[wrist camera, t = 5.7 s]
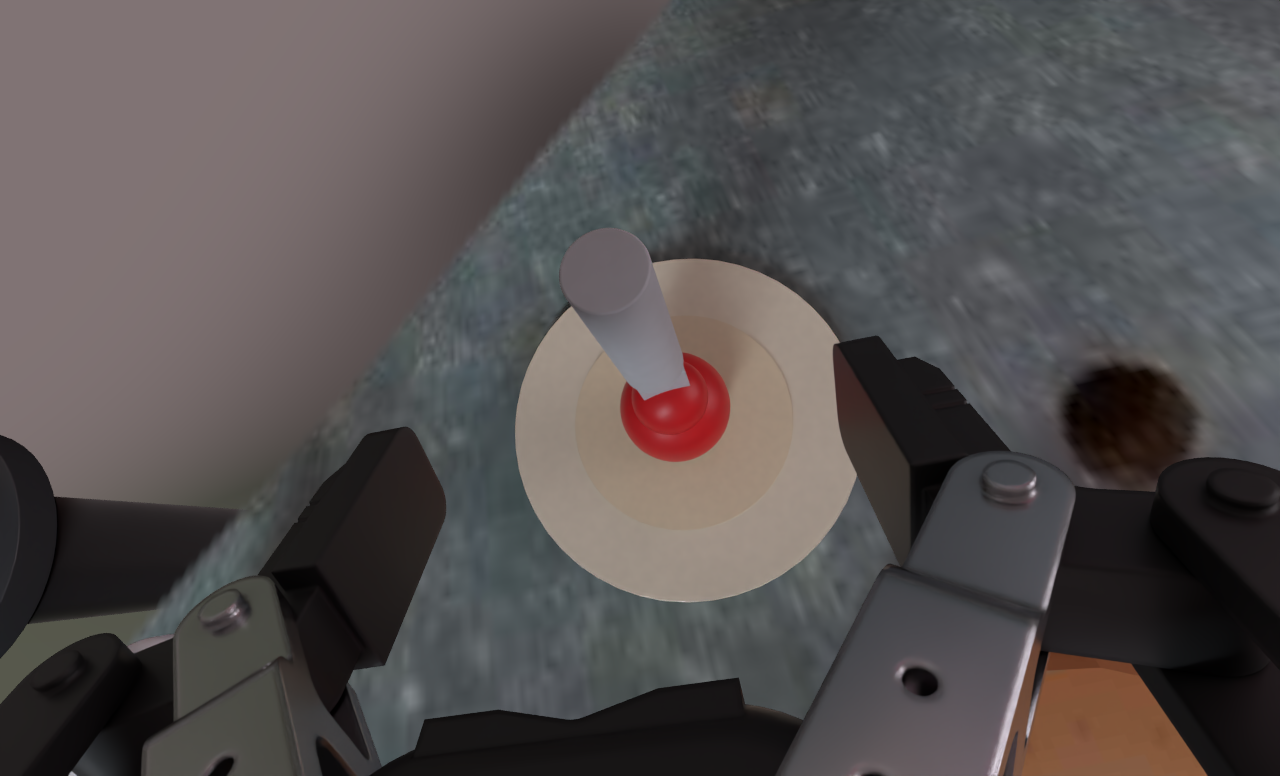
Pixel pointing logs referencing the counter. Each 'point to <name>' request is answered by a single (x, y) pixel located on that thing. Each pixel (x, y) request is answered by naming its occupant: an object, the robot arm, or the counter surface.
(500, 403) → the counter surface
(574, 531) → the plate
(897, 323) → the counter surface
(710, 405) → the forked strawberry
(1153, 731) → the pie
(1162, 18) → the counter surface
